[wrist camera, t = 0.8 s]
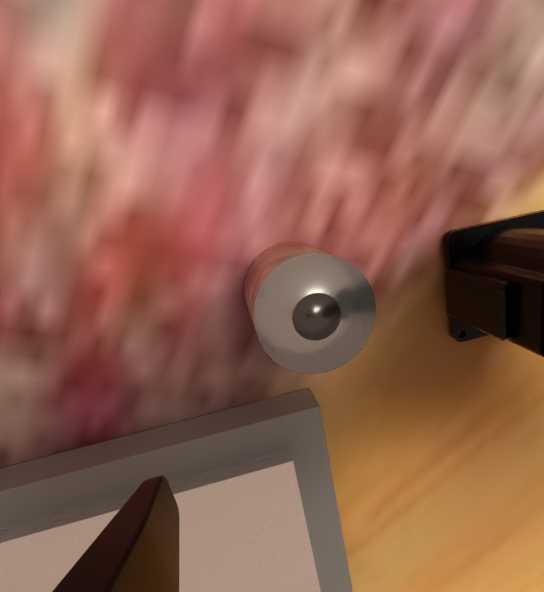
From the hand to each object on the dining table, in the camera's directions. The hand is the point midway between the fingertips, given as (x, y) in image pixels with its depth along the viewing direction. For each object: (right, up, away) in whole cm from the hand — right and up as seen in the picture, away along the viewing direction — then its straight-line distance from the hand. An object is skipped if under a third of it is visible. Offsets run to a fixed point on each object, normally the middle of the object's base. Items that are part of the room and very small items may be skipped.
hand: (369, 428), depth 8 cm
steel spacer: (-1, +3, +11) cm, 12 cm away
